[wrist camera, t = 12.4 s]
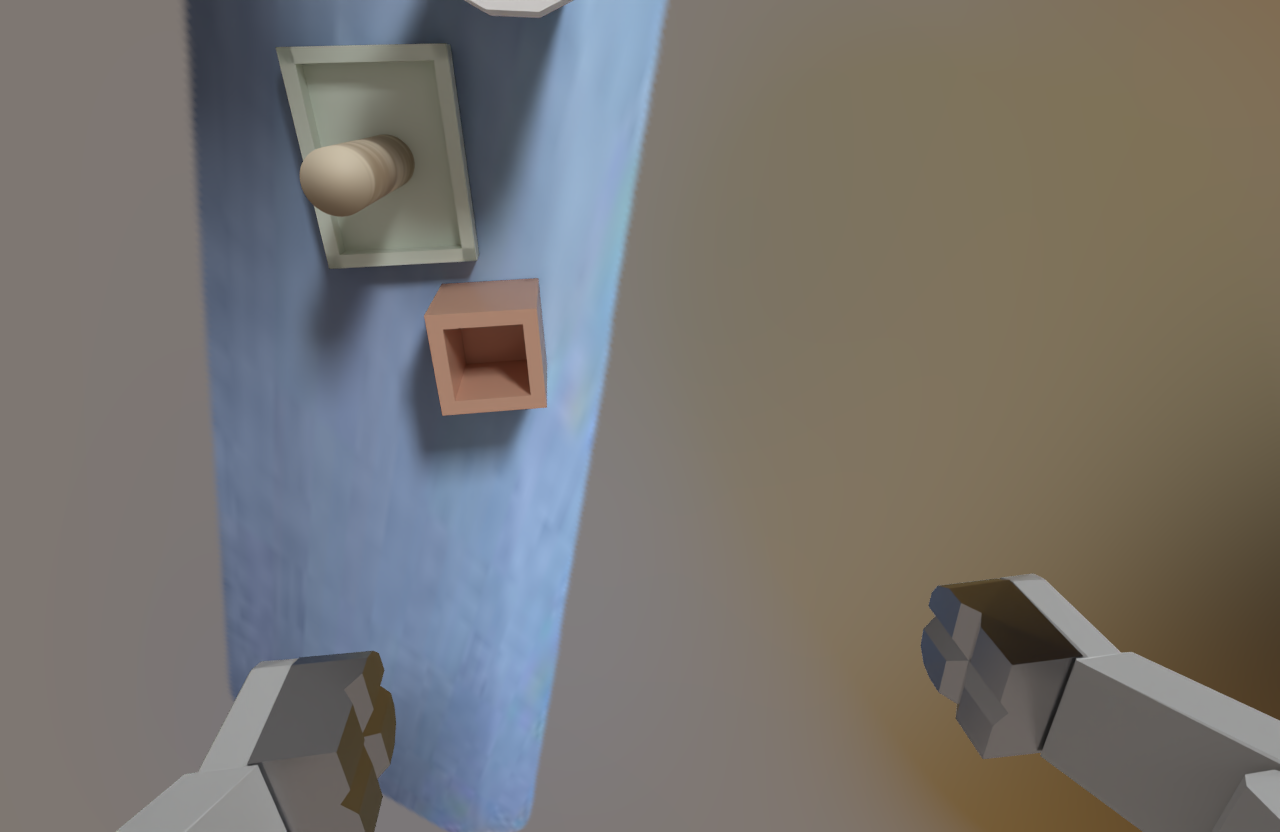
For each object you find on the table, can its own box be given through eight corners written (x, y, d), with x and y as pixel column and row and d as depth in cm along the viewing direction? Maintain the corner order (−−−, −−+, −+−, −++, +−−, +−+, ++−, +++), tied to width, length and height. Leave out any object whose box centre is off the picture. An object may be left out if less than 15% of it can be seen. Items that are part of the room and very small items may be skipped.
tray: (287, 49, 37) (275, 47, 35) (450, 45, 37) (446, 43, 36) (337, 262, 42) (329, 268, 40) (479, 254, 43) (476, 260, 41)
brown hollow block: (441, 283, 43) (424, 315, 37) (538, 278, 44) (536, 308, 38) (456, 372, 46) (442, 415, 40) (547, 365, 47) (546, 407, 41)
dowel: (357, 135, 38) (292, 148, 29) (409, 133, 39) (362, 145, 29) (368, 188, 40) (309, 218, 30) (418, 186, 40) (376, 215, 30)
